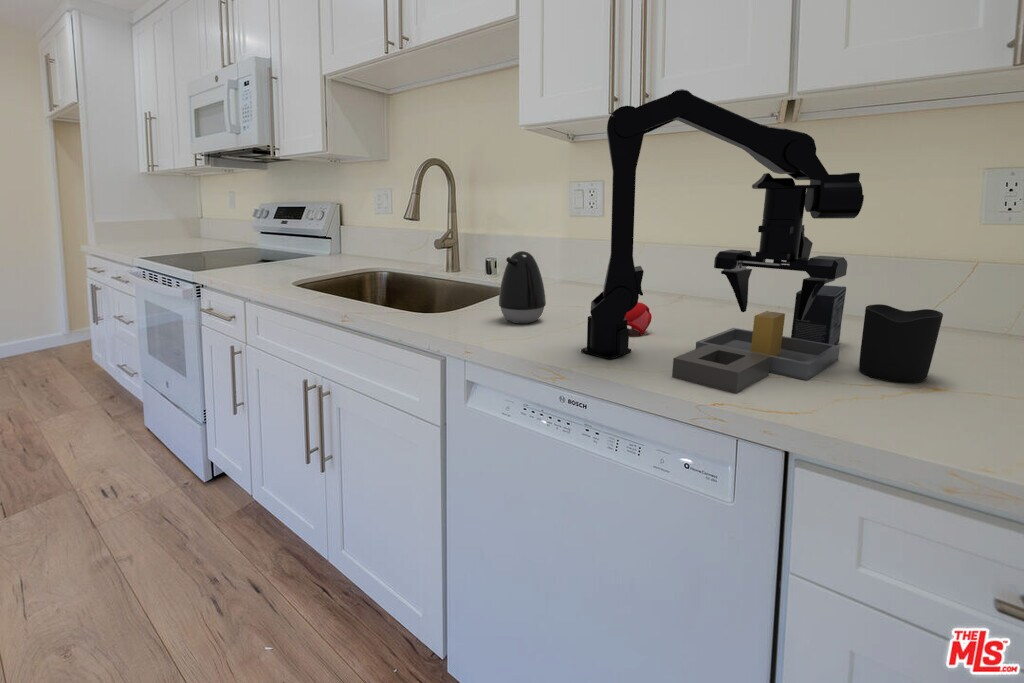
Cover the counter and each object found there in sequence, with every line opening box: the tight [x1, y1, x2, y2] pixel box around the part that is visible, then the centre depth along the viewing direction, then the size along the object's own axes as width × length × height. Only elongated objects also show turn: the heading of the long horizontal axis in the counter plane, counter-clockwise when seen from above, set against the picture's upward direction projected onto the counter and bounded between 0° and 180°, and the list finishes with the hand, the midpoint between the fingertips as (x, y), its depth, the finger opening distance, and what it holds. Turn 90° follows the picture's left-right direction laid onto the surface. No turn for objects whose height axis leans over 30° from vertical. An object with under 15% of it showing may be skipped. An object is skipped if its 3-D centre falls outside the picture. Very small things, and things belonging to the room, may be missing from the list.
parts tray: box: [695, 327, 841, 381], centre depth 92 cm, size 18×14×2 cm
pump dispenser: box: [498, 250, 547, 324], centre depth 119 cm, size 10×10×15 cm
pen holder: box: [858, 303, 944, 384], centre depth 83 cm, size 9×9×10 cm
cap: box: [624, 302, 653, 336], centre depth 109 cm, size 8×6×6 cm
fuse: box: [751, 310, 786, 356], centre depth 91 cm, size 3×5×7 cm, turn 135°
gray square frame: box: [671, 344, 771, 394], centre depth 84 cm, size 10×11×3 cm
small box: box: [790, 284, 847, 345], centre depth 98 cm, size 11×6×10 cm, turn 141°
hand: (771, 315), depth 91 cm, fingers open, 9 cm apart
